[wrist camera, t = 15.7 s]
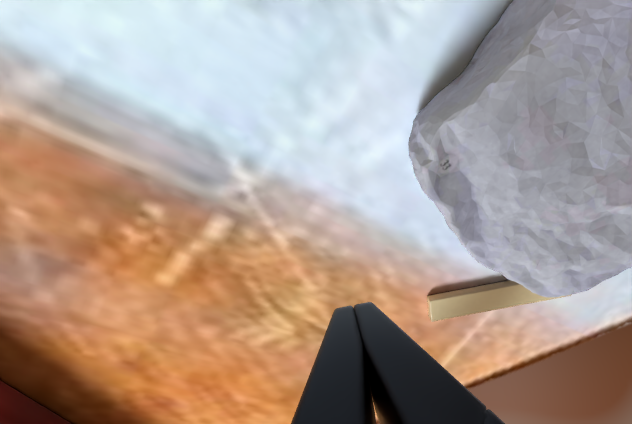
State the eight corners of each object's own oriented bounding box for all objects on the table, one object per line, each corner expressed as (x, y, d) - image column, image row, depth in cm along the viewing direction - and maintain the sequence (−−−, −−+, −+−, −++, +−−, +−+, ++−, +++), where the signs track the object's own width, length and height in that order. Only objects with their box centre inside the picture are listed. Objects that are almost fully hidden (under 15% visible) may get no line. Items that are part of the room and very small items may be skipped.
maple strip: (568, 268, 19) (575, 273, 19) (565, 290, 20) (572, 295, 19) (426, 295, 20) (429, 301, 19) (428, 316, 20) (431, 322, 20)
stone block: (508, 265, 21) (694, 148, 17) (544, 328, 17) (806, 196, 12) (366, 138, 18) (547, -48, 13) (368, 178, 14) (631, -70, 9)
